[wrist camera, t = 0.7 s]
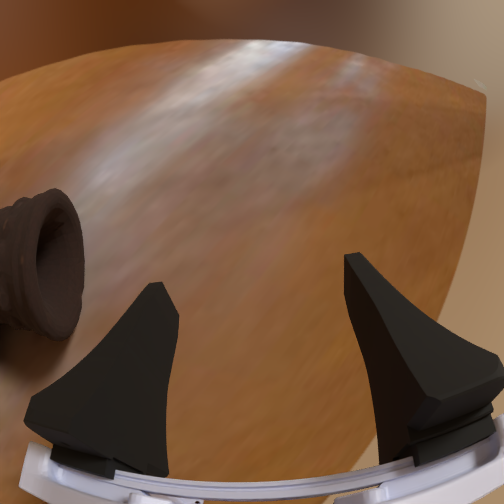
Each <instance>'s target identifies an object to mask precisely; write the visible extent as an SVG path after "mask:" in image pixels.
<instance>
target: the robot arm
mask: <svg viewBox="0 0 504 504" xmlns="http://www.w3.org/2000/svg"><path fill="white" fill-rule="evenodd" d="M344 296H345V300H346V305H347V309H348V313H349V317H350V320H351V323H352V326H353V329H354V332H355V335H356V338H357V341H358V343H359V346H360V349H361V352H362V355H363V359H364V362H365V365H366V369H367V373H368V378H369V383H370V389H371V394H372V400H373V407H374V413H375V421H376V429H377V439H378V452H379V465H378V466H374V467H370V468H365V469H361V470H356V471H351V472H346V473H340V474H335V475H328V476H322V477H314V478H306V479H297V480H286V481H272V482H203V481H189V480H178V479H169V478H165V477H167V476H168V474H169V469H168V459H167V446H166V406H167V391H168V384H169V378H170V373H171V368H172V363H173V358H174V353H175V348H176V343H177V338H178V328H179V314H178V312H177V310H176V308H175V306H174V304H173V302H172V300H171V298H170V297H169V295H168V293H167V291H166V289H165V287H164V285H163V283H162V282H155V283H149V284H148V285H147V286H146V287H145V288H144V290H143V291H142V292H141V293H140V294H139V296H138V297H137V298H136V299H135V301H134V302H133V303H132V305H131V306H130V307H129V308H128V310H127V311H126V312H125V313H124V315H123V316H122V317H121V318H120V320H119V321H118V322H117V323H116V324H115V326H114V327H113V328H112V329H111V330H110V331H109V333H108V334H107V335H106V336H105V337H104V338H103V340H102V341H101V342H100V343H99V344H98V345H97V346H96V347H95V348H94V349H93V350H92V351H91V352H90V353H89V354H88V355H87V356H86V357H85V358H84V359H83V360H81V361H80V362H79V363H78V364H77V365H76V366H75V367H73V368H72V369H71V370H70V371H69V372H67V373H66V374H65V375H64V376H62V377H61V378H60V379H58V380H57V381H56V382H54V383H53V384H51V385H50V386H48V387H47V388H45V389H43V390H42V391H40V392H39V393H37V394H35V395H34V396H32V397H31V400H30V403H29V406H28V409H27V412H26V415H25V418H24V423H25V425H26V426H27V427H28V428H30V429H31V430H32V431H34V432H35V433H37V434H38V435H40V436H41V437H43V438H44V439H46V440H48V441H49V442H51V443H52V444H53V448H52V449H50V448H48V447H46V446H43V445H41V444H38V443H35V442H33V441H30V442H29V445H28V449H27V453H26V457H25V460H24V464H23V469H22V473H21V477H20V482H19V487H20V488H21V489H23V490H25V491H27V492H28V493H30V494H32V495H34V496H36V497H38V498H39V499H41V500H43V501H45V502H47V503H49V504H203V502H204V500H212V501H278V500H292V499H302V498H311V497H319V496H326V495H333V494H339V493H344V492H350V491H355V490H360V489H364V488H369V487H373V486H377V485H379V486H378V487H377V488H374V489H370V490H366V491H362V492H358V493H354V494H350V495H346V496H342V497H337V498H336V499H335V500H334V503H333V504H471V503H473V502H475V501H477V500H479V499H480V498H482V497H484V496H485V495H487V494H489V493H491V492H492V491H494V490H495V489H497V488H499V487H500V486H502V485H504V413H503V414H501V415H500V416H498V417H497V418H495V419H494V420H493V419H492V417H491V413H492V412H493V406H492V403H491V402H492V401H493V400H494V398H495V397H496V396H497V395H498V394H499V393H500V392H501V391H502V390H503V388H504V367H503V364H502V363H501V361H500V359H499V357H498V356H497V355H496V354H494V353H492V352H489V351H487V350H485V349H482V348H480V347H478V346H476V345H474V344H472V343H470V342H468V341H466V340H464V339H463V338H461V337H459V336H457V335H456V334H454V333H452V332H451V331H449V330H448V329H446V328H445V327H443V326H442V325H440V324H438V323H437V322H435V321H434V320H433V319H431V318H430V317H428V316H427V315H426V314H424V313H423V312H422V311H421V310H419V309H418V308H417V307H416V306H414V305H413V304H412V303H411V302H410V301H409V300H407V299H406V298H405V297H404V296H403V295H402V294H401V293H400V292H399V291H397V290H396V289H395V288H394V287H393V286H392V285H391V284H390V283H389V282H388V281H387V280H386V279H385V278H384V277H383V276H382V275H381V274H380V273H379V272H378V271H377V270H376V269H375V268H374V267H373V265H372V264H371V263H370V262H369V261H368V260H367V259H366V258H365V257H364V256H363V255H362V254H361V253H360V252H358V253H352V254H345V255H344ZM196 501H199V503H195V502H196Z"/></svg>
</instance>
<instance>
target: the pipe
mask: <svg viewBox="0 0 504 504" xmlns="http://www.w3.org/2000/svg"><path fill="white" fill-rule="evenodd" d="M84 262H85V260H84V247H83V236H82V230H81V225H80V221H79V218H78V214H77V212H76V210H75V208H74V206H73V204H72V202H71V201H70V199H69V198H68V196H67V195H66V194H64V193H63V192H62V191H61V190H59V189H56V188H54V189H49V190H48V191H46V192H44V193H41V194H38V195H36V196H34V197H33V198H32V199H30V198H27V197H23V198H20V199H18V200H17V201H16V202H15V203H14V204H13V206H7V207H5V208H3V209H0V323H1V324H3V323H6V324H10V325H11V326H12V327H13V328H14V329H15V330H18V329H22V328H23V329H25V330H32V329H33V330H34V331H35V332H36V333H38V334H39V335H43V336H46V337H48V338H49V339H51V340H54V341H62V340H65V339H67V338H68V337H69V336H70V335H71V334H72V333H73V331H74V329H75V327H76V325H77V323H78V320H79V316H80V312H81V308H82V297H81V296H82V293H83V289H84Z"/></svg>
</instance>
